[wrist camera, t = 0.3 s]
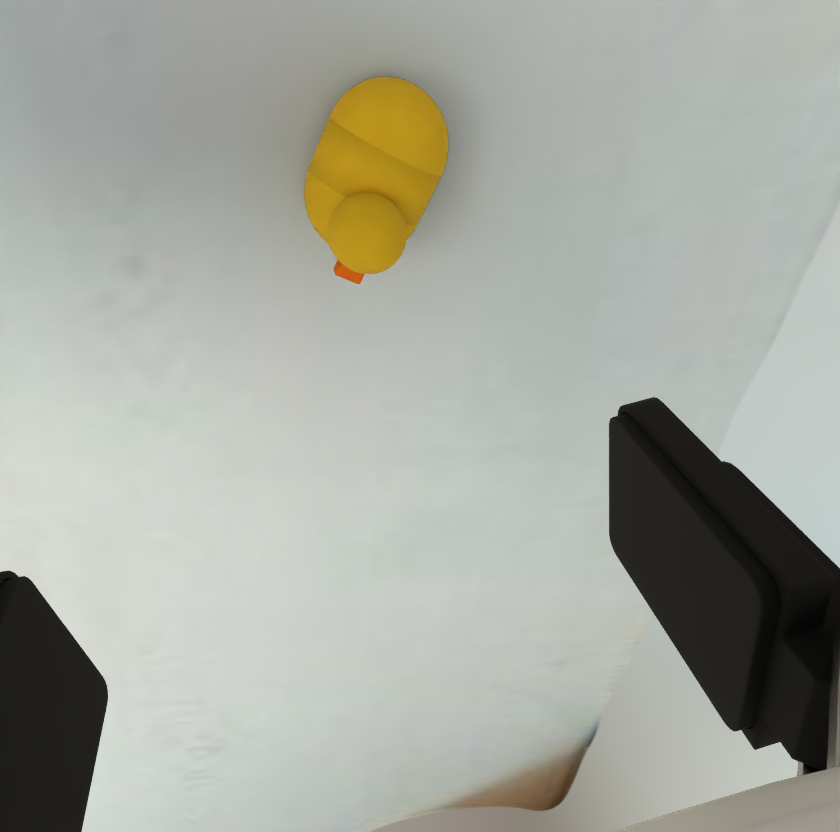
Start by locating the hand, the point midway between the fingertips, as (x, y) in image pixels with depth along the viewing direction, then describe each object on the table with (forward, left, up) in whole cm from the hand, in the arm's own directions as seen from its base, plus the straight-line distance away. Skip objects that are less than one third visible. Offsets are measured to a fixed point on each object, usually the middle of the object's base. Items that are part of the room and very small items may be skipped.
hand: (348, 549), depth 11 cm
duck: (-3, +2, -20) cm, 21 cm away
